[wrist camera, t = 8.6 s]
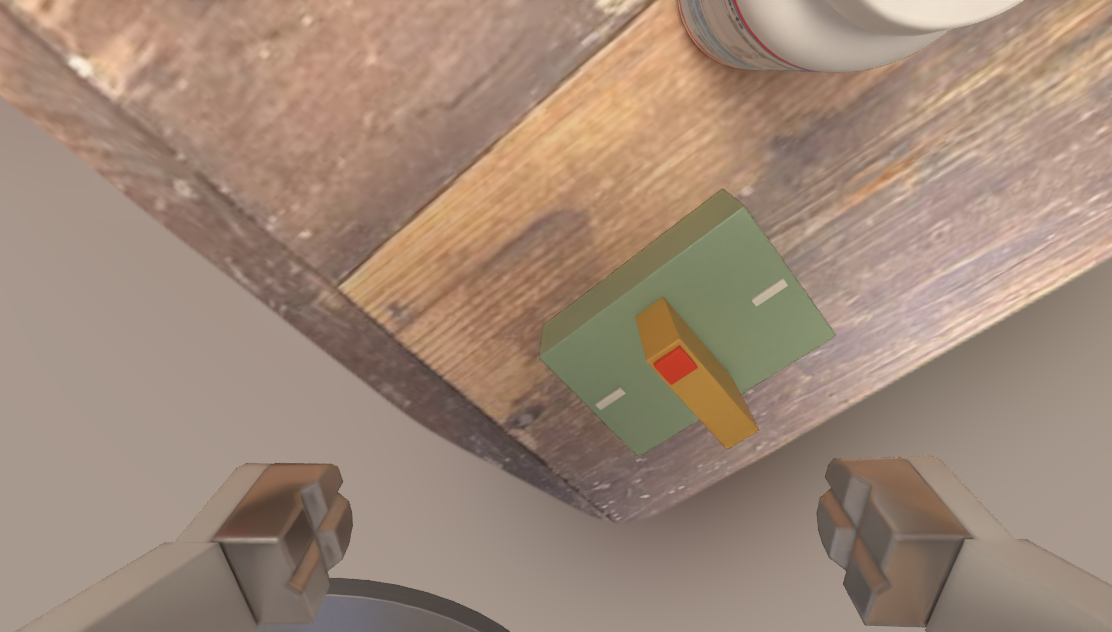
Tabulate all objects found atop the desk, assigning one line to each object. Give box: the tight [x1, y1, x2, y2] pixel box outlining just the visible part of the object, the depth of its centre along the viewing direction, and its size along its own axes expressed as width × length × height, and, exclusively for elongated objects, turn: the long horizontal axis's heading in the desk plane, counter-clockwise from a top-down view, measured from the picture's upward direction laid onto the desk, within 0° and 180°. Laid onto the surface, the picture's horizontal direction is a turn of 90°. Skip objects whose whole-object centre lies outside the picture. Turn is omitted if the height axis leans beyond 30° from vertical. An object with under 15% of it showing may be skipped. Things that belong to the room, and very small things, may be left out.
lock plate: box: [539, 189, 836, 457], centre depth 23 cm, size 10×7×3 cm
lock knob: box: [635, 297, 759, 449], centre depth 20 cm, size 5×1×4 cm, turn 41°
